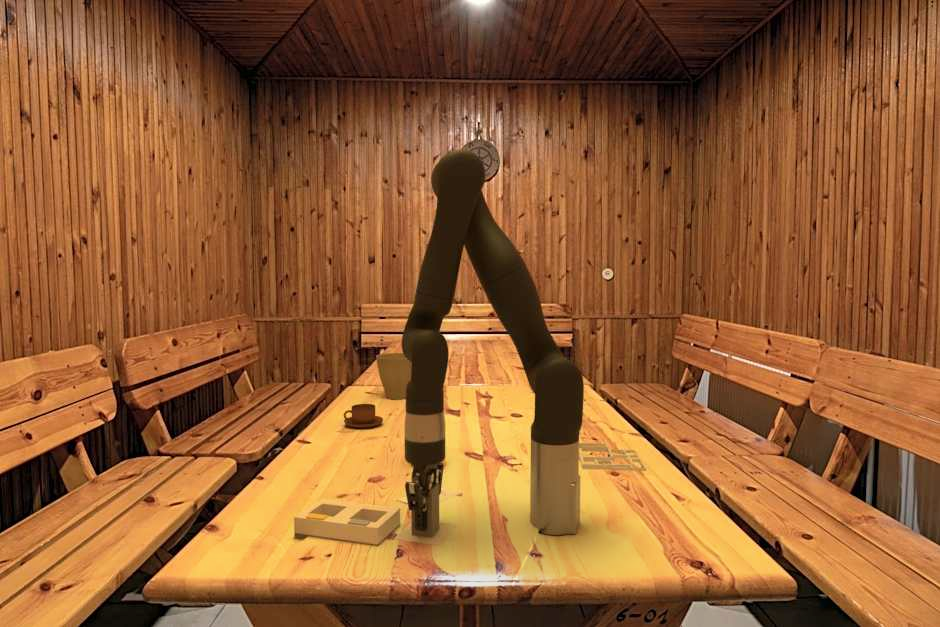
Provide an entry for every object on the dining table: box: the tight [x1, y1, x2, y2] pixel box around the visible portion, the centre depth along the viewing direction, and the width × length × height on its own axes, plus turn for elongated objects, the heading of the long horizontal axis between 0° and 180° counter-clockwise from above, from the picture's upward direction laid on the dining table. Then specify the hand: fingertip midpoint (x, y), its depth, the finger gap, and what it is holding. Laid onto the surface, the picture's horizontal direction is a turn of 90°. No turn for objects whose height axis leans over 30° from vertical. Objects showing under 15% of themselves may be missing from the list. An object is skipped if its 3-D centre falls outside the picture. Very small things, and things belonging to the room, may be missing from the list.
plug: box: [410, 483, 440, 538], centre depth 124 cm, size 4×4×9 cm
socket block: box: [293, 498, 401, 547], centre depth 126 cm, size 17×10×4 cm, turn 72°
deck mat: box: [393, 521, 457, 546], centre depth 124 cm, size 9×9×1 cm
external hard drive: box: [395, 486, 463, 505], centre depth 143 cm, size 2×8×12 cm
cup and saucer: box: [343, 403, 384, 429], centre depth 207 cm, size 12×12×6 cm
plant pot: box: [375, 352, 412, 401], centre depth 248 cm, size 15×15×16 cm
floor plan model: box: [579, 442, 647, 472], centre depth 173 cm, size 19×25×2 cm
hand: (425, 524), depth 124 cm, fingers closed on plug, 4 cm apart
